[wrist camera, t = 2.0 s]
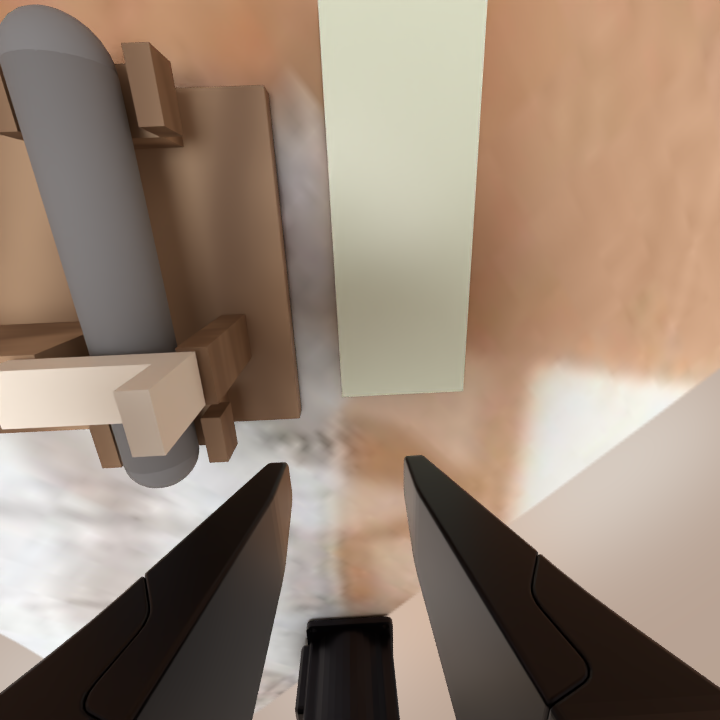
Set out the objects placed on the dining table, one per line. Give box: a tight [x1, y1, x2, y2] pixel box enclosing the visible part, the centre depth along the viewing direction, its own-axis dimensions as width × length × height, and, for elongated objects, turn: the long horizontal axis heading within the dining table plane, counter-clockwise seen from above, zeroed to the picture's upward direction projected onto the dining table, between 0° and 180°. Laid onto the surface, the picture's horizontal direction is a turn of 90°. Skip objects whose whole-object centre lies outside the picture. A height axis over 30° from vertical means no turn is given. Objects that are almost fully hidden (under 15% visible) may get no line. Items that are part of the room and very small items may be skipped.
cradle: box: [0, 42, 301, 468], centre depth 16 cm, size 17×16×6 cm
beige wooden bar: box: [0, 351, 206, 457], centre depth 12 cm, size 7×2×3 cm, turn 92°
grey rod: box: [0, 5, 199, 488], centre depth 15 cm, size 3×18×3 cm, turn 2°
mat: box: [318, 0, 487, 397], centre depth 19 cm, size 7×18×1 cm, turn 2°
